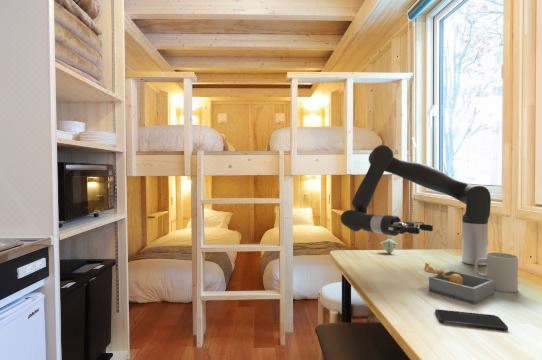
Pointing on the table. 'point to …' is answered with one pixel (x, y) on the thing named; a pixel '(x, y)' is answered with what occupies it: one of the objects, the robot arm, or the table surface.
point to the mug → (500, 271)
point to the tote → (462, 287)
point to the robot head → (389, 245)
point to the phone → (471, 320)
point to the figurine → (452, 278)
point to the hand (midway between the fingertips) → (425, 229)
